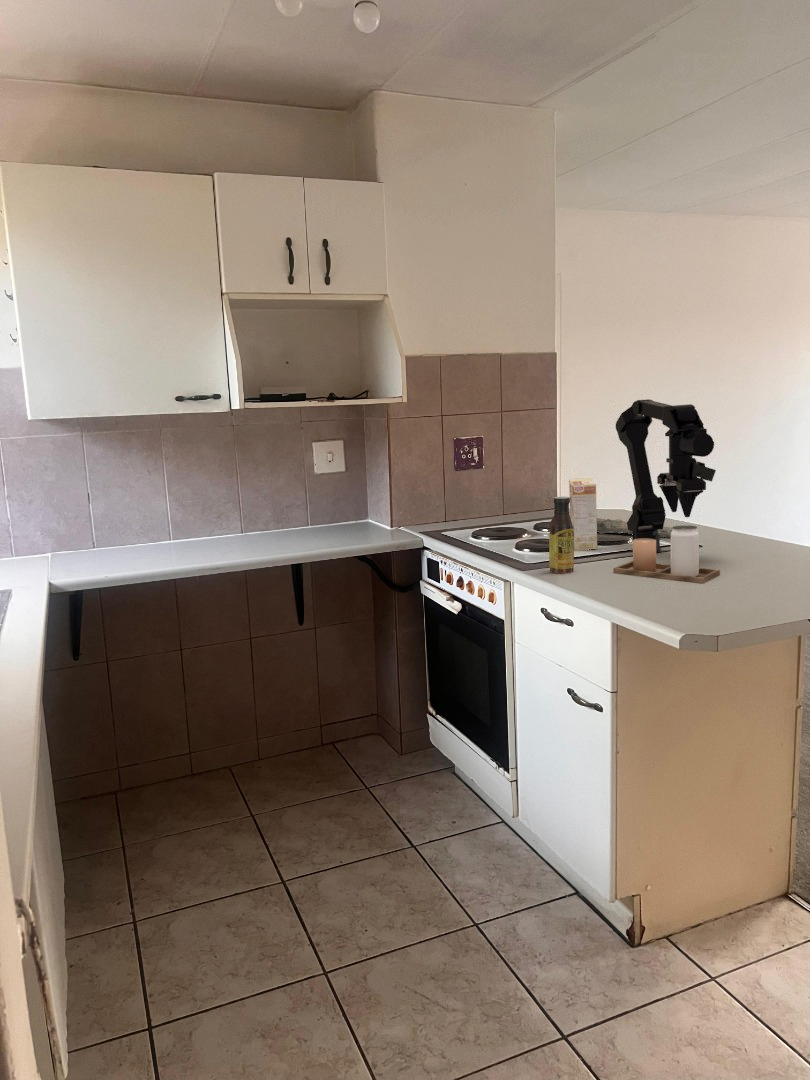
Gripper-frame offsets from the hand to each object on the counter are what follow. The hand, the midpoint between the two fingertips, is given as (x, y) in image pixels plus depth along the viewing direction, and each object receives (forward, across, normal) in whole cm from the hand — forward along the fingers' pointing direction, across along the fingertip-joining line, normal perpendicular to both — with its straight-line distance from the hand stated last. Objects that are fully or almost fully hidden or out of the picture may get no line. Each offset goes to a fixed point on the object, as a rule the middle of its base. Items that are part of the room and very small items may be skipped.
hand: (680, 514), depth 210 cm
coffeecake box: (+13, +32, +18) cm, 39 cm away
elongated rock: (+14, +47, 0) cm, 49 cm away
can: (+13, -16, +5) cm, 21 cm away
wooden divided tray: (+13, -13, +8) cm, 20 cm away
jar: (+12, -9, +12) cm, 20 cm away
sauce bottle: (+13, -2, +32) cm, 34 cm away
